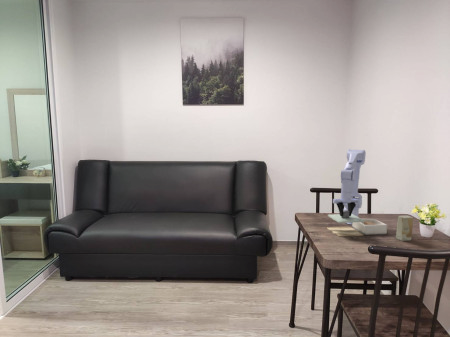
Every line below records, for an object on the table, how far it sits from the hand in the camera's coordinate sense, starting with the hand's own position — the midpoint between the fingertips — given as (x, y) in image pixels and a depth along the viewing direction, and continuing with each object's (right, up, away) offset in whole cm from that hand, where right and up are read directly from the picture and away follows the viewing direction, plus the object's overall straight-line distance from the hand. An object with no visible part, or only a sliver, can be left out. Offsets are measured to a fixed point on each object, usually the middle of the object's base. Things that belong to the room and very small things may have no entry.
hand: (345, 215), depth 190 cm
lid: (0, -2, 0) cm, 2 cm away
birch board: (0, -9, +1) cm, 9 cm away
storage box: (+15, -9, +4) cm, 18 cm away
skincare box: (+27, -11, -10) cm, 31 cm away
